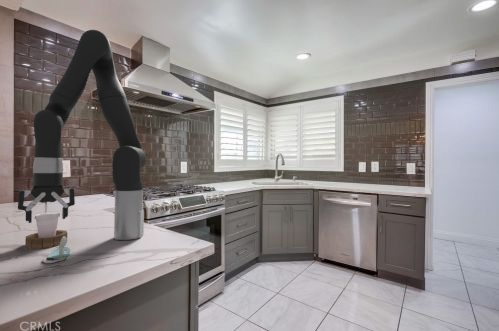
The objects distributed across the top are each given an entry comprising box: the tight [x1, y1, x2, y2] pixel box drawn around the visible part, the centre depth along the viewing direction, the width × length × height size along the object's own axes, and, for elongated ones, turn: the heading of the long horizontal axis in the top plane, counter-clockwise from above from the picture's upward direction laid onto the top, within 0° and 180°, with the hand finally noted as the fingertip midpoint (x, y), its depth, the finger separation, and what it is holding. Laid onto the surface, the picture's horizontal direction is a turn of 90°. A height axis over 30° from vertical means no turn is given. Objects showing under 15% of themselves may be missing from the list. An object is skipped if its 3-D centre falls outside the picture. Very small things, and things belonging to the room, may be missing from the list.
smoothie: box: [34, 202, 61, 238], centre depth 78 cm, size 6×6×14 cm
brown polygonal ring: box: [24, 229, 68, 250], centre depth 78 cm, size 10×10×3 cm
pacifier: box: [42, 236, 71, 264], centre depth 66 cm, size 7×6×6 cm
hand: (47, 220), depth 78 cm, fingers open, 8 cm apart
